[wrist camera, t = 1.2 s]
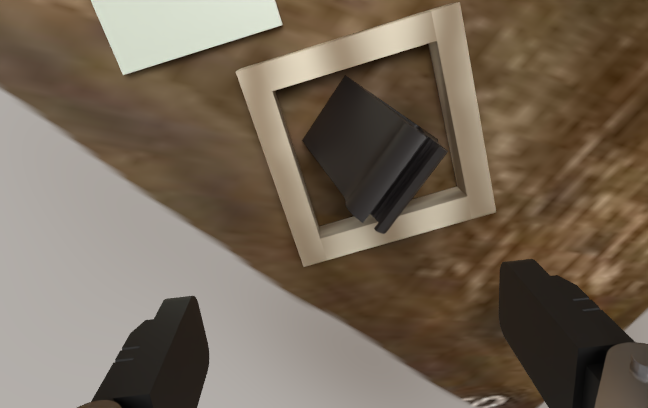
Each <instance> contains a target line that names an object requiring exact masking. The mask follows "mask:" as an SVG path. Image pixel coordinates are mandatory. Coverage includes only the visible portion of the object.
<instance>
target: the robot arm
mask: <svg viewBox="0 0 648 408" xmlns="http://www.w3.org/2000/svg"><path fill="white" fill-rule="evenodd" d="M499 321H500V326H501V329H502V332H503V335H504V337H505V339H506V340H507V342H508V343H509V345H510V347H511V348H512V350H513V351H514V353H515V355H516V356H517V358H518V359H519V361H520V363H521V364H522V366H523V367H524V369H525V371H526V372H527V374H528V375H529V377H530V378H531V380H532V382H533V383H534V385H535V386H536V388H537V390H538V391H539V393H540V394H541V396H542V398H543V399H544V401H545V402H546V404H547V405H548V407H549V408H648V344H644V343H636V342H634V341H633V340H632V339H631V338H630V337H629V336H628V335H627V334H626V333H625V332H624V331H623V330H622V329H621V328H620V327H619V326H618V325H617V324H616V323H615V322H614V321H613V320H612V319H611V318H610V317H609V316H608V315H607V314H606V313H605V312H604V311H603V310H600V309H599V307H598V306H597V305H596V304H595V303H594V302H593V301H592V300H589V297H588V296H587V295H586V294H585V293H584V292H583V291H582V290H581V289H580V288H579V287H578V286H577V285H575V284H573V283H571V282H569V281H567V280H565V279H563V278H561V277H559V276H557V275H556V276H550V275H549V274H548V273H547V272H546V271H545V270H544V269H543V268H542V267H541V266H540V265H539V264H538V263H537V262H536V261H535V260H533V259H527V260H518V261H509V262H503V263H502V264H501V267H500V287H499ZM115 360H116V361H115V363H113V365H112V366H111V368H110V370H109V372H108V373H107V375H106V377H105V379H104V380H103V382H102V384H101V385H100V387H99V389H98V391H97V392H96V394H95V396H94V398H93V399H92V401H91V402H89V403H87V404H84V405H82V406H80V407H77V408H197V406H198V402H199V398H200V395H201V391H202V388H203V384H204V381H205V378H206V374H207V371H208V366H209V348H208V342H207V338H206V334H205V330H204V326H203V321H202V317H201V313H200V309H199V305H198V301H197V299H196V297H195V296H188V297H180V298H170V299H165V300H164V301H163V303H162V305H161V307H160V308H159V310H158V312H157V315H156V316H155V318H154V319H153V320H145V321H144V322H143V323H142V324H141V325H140V326H138V327H137V328H136V329H135V330H134V331H133V332H131V334H130V335H129V337H128V338H127V340H126V342H125V344H124V345H123V347H122V351H120V352H119V354H118V356H117V358H116V359H115Z"/></svg>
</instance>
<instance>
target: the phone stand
mask: <svg viewBox="0 0 648 408" xmlns="http://www.w3.org/2000/svg"><path fill="white" fill-rule="evenodd" d="M302 141H303V142H304V144H305V145H306V146H307V148H308V149H309V150H310V152H311V153H312V154H313V156H314V157H315V158H316V160H317V161H318V162H319V164H320V165H321V166H322V168H323V169H324V170H325V172H326V173H327V174H328V176H329V177H330V178H331V180H332V181H333V182H334V184H335V185H336V186H337V188H338V189H339V191H340V192H341V193H342V195H343V196H344V198H345V200H346V207H347V209H348V210H349V211H350V212H351V213H352V214H353V215H354V216H355V217H356V218H357V219H358V220H359V221H361V222H362V223H363V222H364V221H365V220H366V218H367V217H368V216H369V214H371V215H372V217H373V218H375V219H376V221H377V222H378V224H377V225H376V226H375V228H374V229H375V231H377V232H379V233H382V234H385V233H386V232H387V231H388V230H389V228H390V227H391V226H392V224H393V223H394V222H395V220H396V219H397V218H398V217H399V215H400V214H401V213H402V211H403V210H404V209H405V207H406V206H407V205H408V203H409V202H410V201H411V199H412V198H413V197H414V196H415V194H416V193H417V192H418V190H419V189H420V188H421V186H422V185H423V184H424V182H425V181H426V180H427V178H428V177H429V176H430V174H431V173H432V172H433V171H434V169H435V168H436V167H437V165H438V164H439V163H440V161H441V160H442V159H443V157H444V156H445V155H446V153H447V152H448V151H447V150H446V149H444V148H443V147H442V146H441V145H439V144H438V139H436V138H435V137H434V136H432V135H431V134H429V133H428V132H426V131H425V130H423V129H422V128H421V127H419V126H418V125H416V124H415V123H413V122H412V121H411V120H409V119H408V118H406V117H405V116H403V115H402V114H400V113H399V112H398V111H396V110H395V109H393V108H392V107H390V106H389V105H387V104H386V103H385V102H383V101H382V100H380V99H379V98H377V97H376V96H375V95H373V94H372V93H370V92H369V91H367V90H366V89H364V88H363V87H362V86H360V85H359V84H357V83H356V82H354V81H353V80H351V79H350V78H349V77H347V76H346V75H345V76H344V78H343V79H342V81H341V82H340V84H339V85H338V87H337V88H336V90H335V92H334V93H333V95H332V96H331V98H330V99H329V101H328V102H327V104H326V105H325V107H324V108H323V110H322V111H321V113H320V114H319V116H318V117H317V119H316V120H315V122H314V123H313V125H312V126H311V128H310V130H309V131H308V133H307V134H306V136H305V137H304V139H303V140H302Z"/></svg>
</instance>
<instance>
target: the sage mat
mask: <svg viewBox="0 0 648 408" xmlns="http://www.w3.org/2000/svg"><path fill="white" fill-rule="evenodd" d="M91 2H92V4H93V6H94V9H95V11H96V13H97V16H98V18H99V20H100V23H101V25H102V27H103V30H104V32H105V34H106V37H107V39H108V41H109V43H110V46H111V48H112V50H113V53H114V55H115V57H116V60H117V62H118V64H119V67H120V69H121V71H122V74H123V75H125V74H129V73H132V72H135V71H138V70H142V69H145V68H148V67H151V66H154V65H157V64H161V63H164V62H167V61H170V60H173V59H177V58H180V57H183V56H186V55H189V54H192V53H196V52H199V51H202V50H205V49H208V48H212V47H215V46H218V45H221V44H224V43H227V42H231V41H234V40H237V39H240V38H243V37H247V36H250V35H253V34H256V33H259V32H262V31H266V30H269V29H272V28H275V27H278V26H282V25H283V24H282V21H281V18H280V14H279V11H278V8H277V4H276V1H275V0H91Z"/></svg>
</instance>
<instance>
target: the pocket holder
mask: <svg viewBox="0 0 648 408" xmlns="http://www.w3.org/2000/svg"><path fill="white" fill-rule="evenodd" d="M425 44H429V49H430V54H431V59H432V64H433V69H434V74H435V79H436V84H437V89H438V94H439V99H440V103H441V108H442V113H443V118H444V123H445V128H446V133H447V138H448V143H449V148H450V153H451V158H452V163H453V168H454V173H455V178H456V183H457V187H454V188H450V189H447V190H443V191H440V192H436V193H433V194H429V195H426V196H423V197H419V198H416V199H412V200H411V201H410V202H409V203H408V205H407V206H406V207H405V209H404V210H403V211H402V213H401V214H400V215H399V217H398V218H397V219H396V220H395V222H394V223H393V224H392V226H391V227H390V228H389V230H388V231H387V232H386V233H385V234H382V233H379V232H377V231H375V229H374V228H375V226H376V225H377V224H378V222H377V221H376V219H375V218H373V217H372V215H371V214H369V216H368V217H367V218H366V220H365V221H364V222H363V223H362V222H361V221H359V220H358V219H357V218H356V217H355V216H354V217H350V218H347V219H343V220H340V221H336V222H333V223H329V224H326V225H322V226H319V225H318V222H317V219H316V216H315V213H314V209H313V206H312V203H311V200H310V197H309V194H308V191H307V188H306V185H305V182H304V178H303V175H302V172H301V169H300V166H299V163H298V160H297V157H296V154H295V151H294V148H293V144H292V141H291V138H290V135H289V132H288V129H287V126H286V123H285V120H284V117H283V114H282V110H281V107H280V104H279V101H278V98H277V95H276V92H275V90H278V89H281V88H285V87H288V86H291V85H294V84H298V83H301V82H304V81H308V80H311V79H314V78H317V77H321V76H324V75H327V74H330V73H334V72H337V71H340V70H343V69H347V68H350V67H353V66H356V65H360V64H363V63H366V62H369V61H373V60H376V59H379V58H382V57H386V56H389V55H392V54H395V53H399V52H402V51H405V50H409V49H412V48H415V47H418V46H422V45H425ZM236 74H237V77H238V80H239V82H240V85H241V88H242V91H243V94H244V97H245V100H246V103H247V106H248V108H249V111H250V114H251V117H252V120H253V123H254V126H255V129H256V131H257V134H258V137H259V140H260V143H261V146H262V149H263V152H264V154H265V157H266V160H267V163H268V166H269V169H270V172H271V175H272V177H273V180H274V183H275V186H276V189H277V192H278V195H279V198H280V200H281V203H282V206H283V209H284V212H285V215H286V218H287V221H288V223H289V226H290V229H291V232H292V235H293V238H294V241H295V244H296V246H297V249H298V252H299V255H300V258H301V261H302V264H303V267H305V266H309V265H312V264H316V263H319V262H323V261H326V260H330V259H333V258H337V257H340V256H344V255H347V254H351V253H354V252H358V251H361V250H365V249H368V248H372V247H375V246H379V245H382V244H386V243H389V242H393V241H396V240H400V239H403V238H407V237H410V236H414V235H417V234H421V233H424V232H428V231H432V230H435V229H439V228H442V227H446V226H449V225H453V224H456V223H460V222H463V221H467V220H470V219H474V218H477V217H481V216H484V215H488V214H491V213H495V212H496V208H495V202H494V197H493V191H492V185H491V179H490V174H489V168H488V162H487V156H486V150H485V145H484V139H483V133H482V127H481V122H480V116H479V110H478V104H477V98H476V93H475V87H474V81H473V75H472V70H471V64H470V58H469V52H468V46H467V41H466V35H465V29H464V23H463V18H462V12H461V6H460V2H457V3H451V4H447V5H444V6H440V7H437V8H434V9H431V10H427V11H424V12H421V13H418V14H415V15H411V16H408V17H405V18H402V19H398V20H395V21H392V22H389V23H386V24H382V25H379V26H376V27H373V28H370V29H366V30H363V31H360V32H357V33H353V34H350V35H347V36H344V37H341V38H337V39H334V40H331V41H328V42H324V43H321V44H318V45H315V46H312V47H308V48H305V49H302V50H299V51H295V52H292V53H289V54H286V55H283V56H279V57H276V58H273V59H270V60H267V61H263V62H260V63H257V64H254V65H250V66H247V67H244V68H241V69H239V70H237V71H236Z"/></svg>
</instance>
